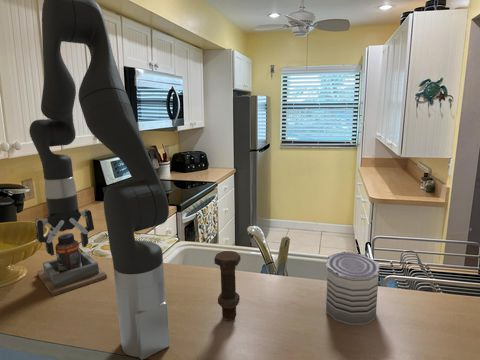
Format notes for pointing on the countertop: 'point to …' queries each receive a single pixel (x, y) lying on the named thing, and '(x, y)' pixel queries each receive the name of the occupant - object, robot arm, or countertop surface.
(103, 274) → the socket board
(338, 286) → the can
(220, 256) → the bolt
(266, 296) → the countertop surface
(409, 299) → the countertop surface
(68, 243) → the supplement bottle
